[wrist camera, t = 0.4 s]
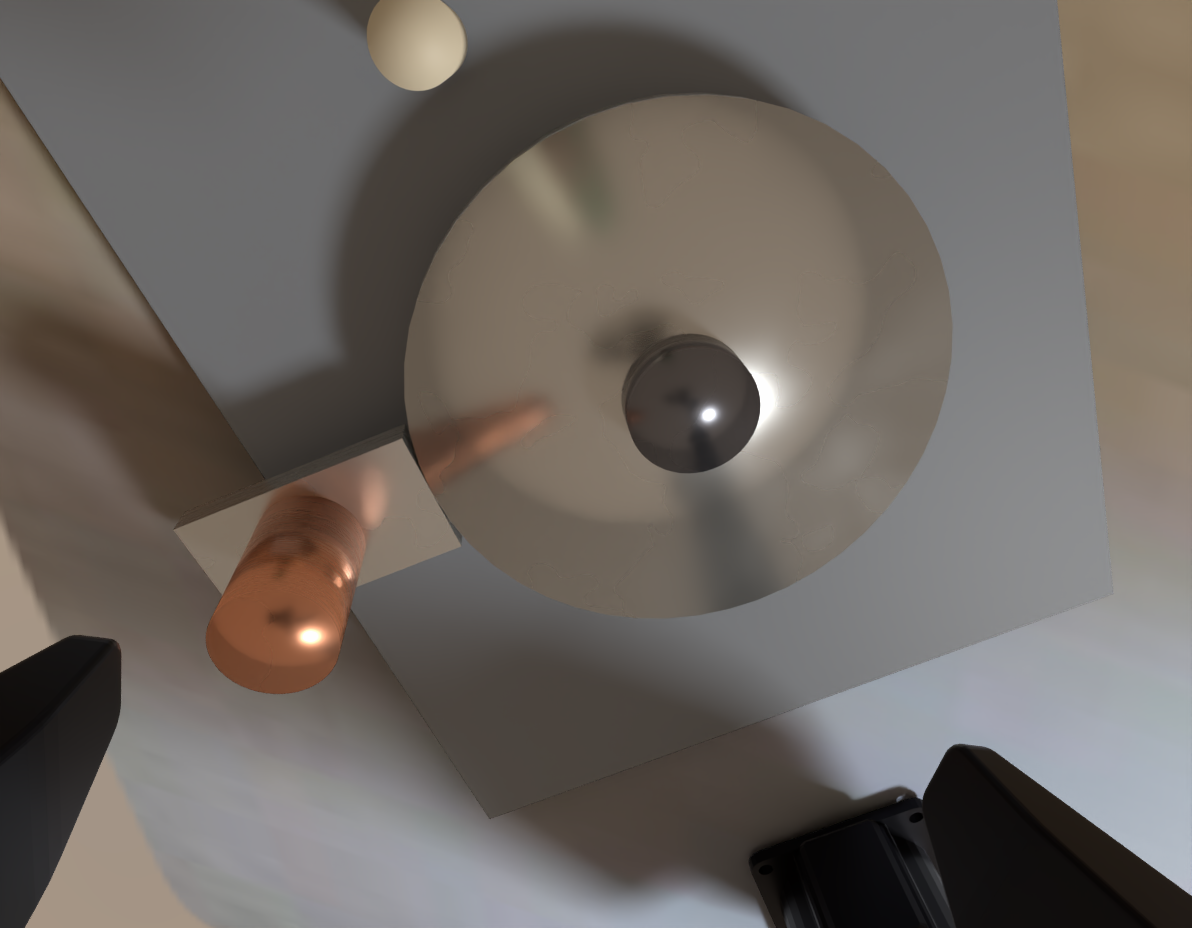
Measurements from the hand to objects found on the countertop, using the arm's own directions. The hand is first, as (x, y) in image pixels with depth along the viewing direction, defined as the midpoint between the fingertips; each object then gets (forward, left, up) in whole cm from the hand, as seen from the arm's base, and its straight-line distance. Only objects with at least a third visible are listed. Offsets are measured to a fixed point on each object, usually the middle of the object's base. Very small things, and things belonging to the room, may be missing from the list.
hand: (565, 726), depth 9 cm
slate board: (-2, -3, -13) cm, 13 cm away
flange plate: (-2, 0, -11) cm, 11 cm away
